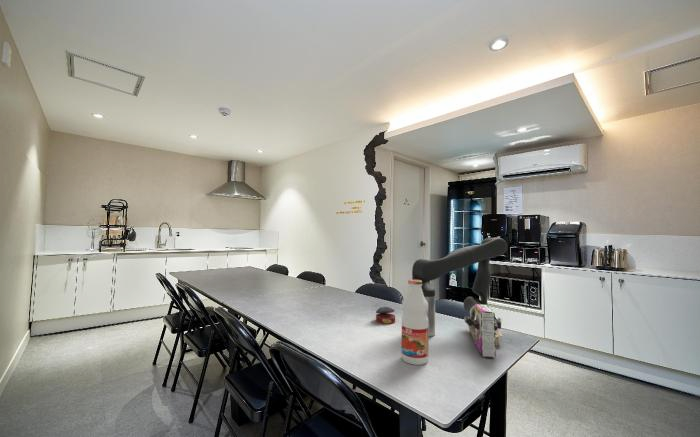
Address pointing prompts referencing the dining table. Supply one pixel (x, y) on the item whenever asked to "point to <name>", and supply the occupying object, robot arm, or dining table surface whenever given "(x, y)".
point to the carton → (472, 331)
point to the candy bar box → (485, 330)
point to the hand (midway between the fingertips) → (486, 327)
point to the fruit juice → (415, 325)
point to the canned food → (385, 316)
